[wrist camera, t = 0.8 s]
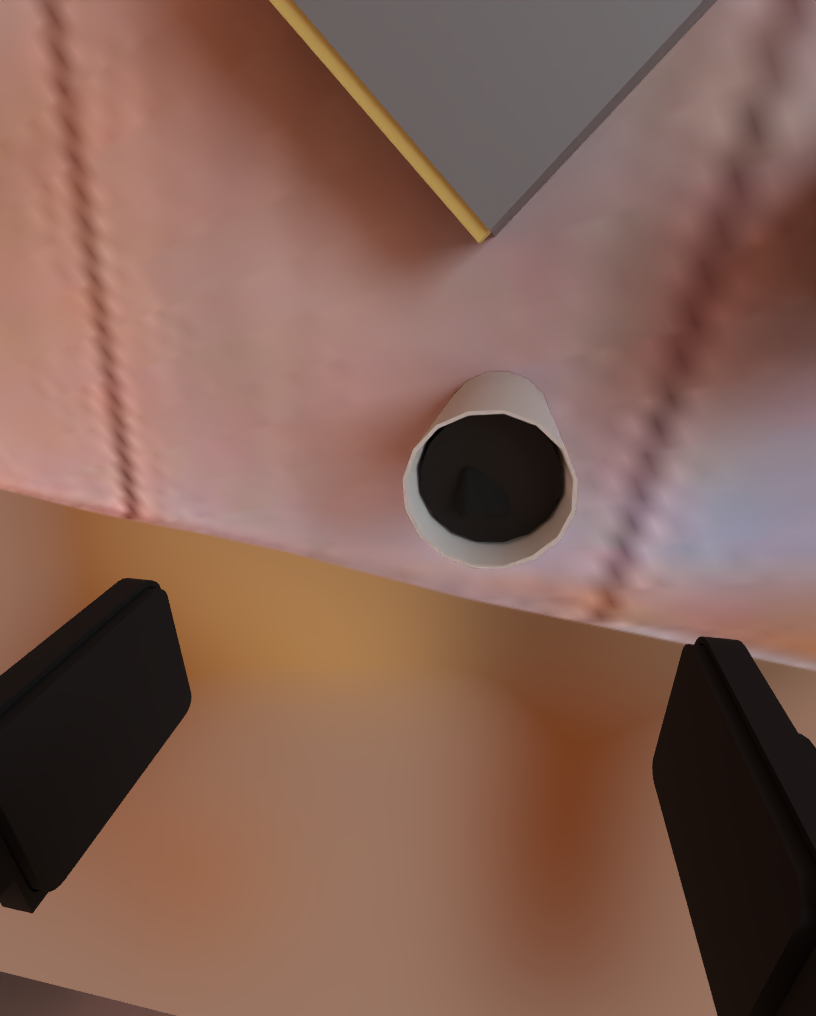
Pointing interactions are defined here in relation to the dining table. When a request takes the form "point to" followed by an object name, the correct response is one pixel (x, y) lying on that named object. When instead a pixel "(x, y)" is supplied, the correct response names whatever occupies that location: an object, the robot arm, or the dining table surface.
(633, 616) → the dining table surface
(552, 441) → the white cup
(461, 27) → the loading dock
